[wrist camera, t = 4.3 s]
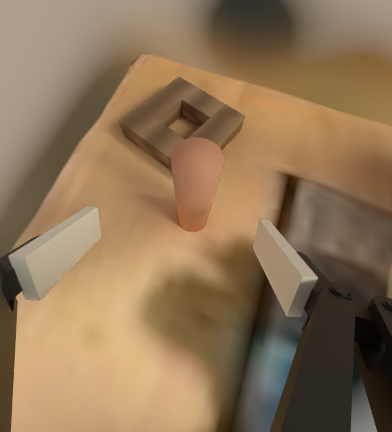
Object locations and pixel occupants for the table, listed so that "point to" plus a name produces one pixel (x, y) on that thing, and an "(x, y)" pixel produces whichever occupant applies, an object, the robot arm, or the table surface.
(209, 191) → the pin
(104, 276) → the table surface
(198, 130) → the socket block
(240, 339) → the table surface
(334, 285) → the robot arm
